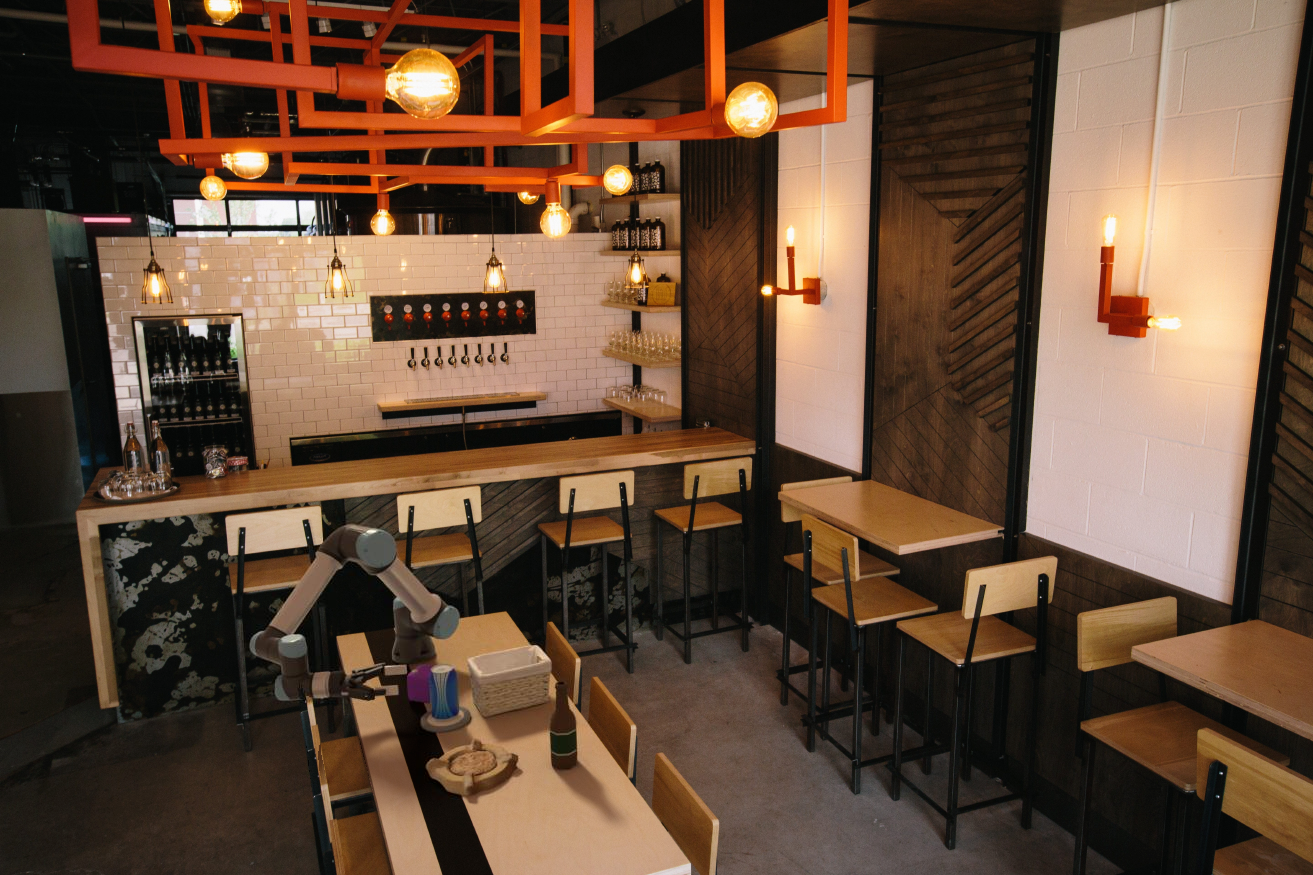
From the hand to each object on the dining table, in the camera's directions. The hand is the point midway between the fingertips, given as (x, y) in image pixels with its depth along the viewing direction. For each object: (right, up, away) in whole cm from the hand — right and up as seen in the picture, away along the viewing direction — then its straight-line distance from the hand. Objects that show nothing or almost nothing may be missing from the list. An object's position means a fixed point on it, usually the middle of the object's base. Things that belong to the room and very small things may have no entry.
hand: (402, 679), depth 265 cm
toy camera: (+3, -11, +21) cm, 24 cm away
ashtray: (+27, -19, -25) cm, 41 cm away
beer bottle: (+52, -18, -22) cm, 59 cm away
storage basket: (+31, -12, +15) cm, 36 cm away
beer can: (+12, -13, +4) cm, 18 cm away
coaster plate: (+12, -14, +4) cm, 19 cm away
